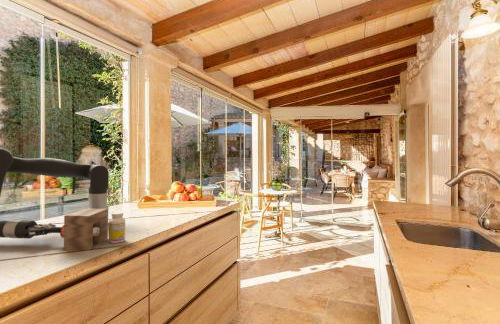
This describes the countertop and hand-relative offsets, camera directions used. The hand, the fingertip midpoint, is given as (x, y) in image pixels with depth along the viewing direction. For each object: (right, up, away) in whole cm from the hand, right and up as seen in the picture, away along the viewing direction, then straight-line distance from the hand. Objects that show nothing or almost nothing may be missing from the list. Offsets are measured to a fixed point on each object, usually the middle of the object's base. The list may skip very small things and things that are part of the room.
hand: (61, 230), depth 120 cm
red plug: (+8, -3, 0) cm, 9 cm away
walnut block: (+9, -7, +2) cm, 12 cm away
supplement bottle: (+20, -7, +7) cm, 23 cm away
